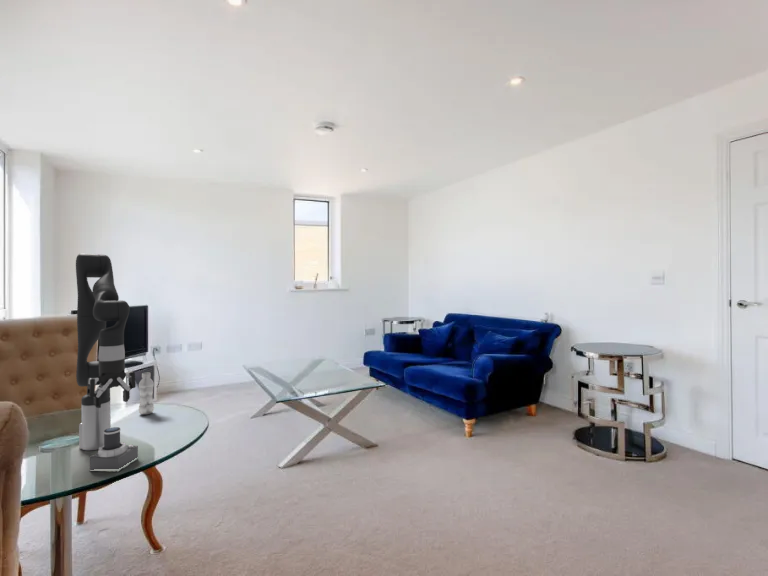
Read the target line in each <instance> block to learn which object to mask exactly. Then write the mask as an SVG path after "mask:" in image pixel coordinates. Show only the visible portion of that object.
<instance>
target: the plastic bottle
mask: <svg viewBox="0 0 768 576" xmlns="http://www.w3.org/2000/svg"><path fill="white" fill-rule="evenodd" d="M154 386H155V383H154V381H153V379H152V378H151V372H148V371H147V372H142V373H141V379H140V381H139V383H138V389H139V390H138V391H139V406H138V413H139V414H140V415H141V416H142V415H143V416H144V415H150V414H153V412H154V410H155V405H154V398H153V394H154V393H153V391H154Z"/></svg>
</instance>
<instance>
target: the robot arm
mask: <svg viewBox="0 0 768 576" xmlns="http://www.w3.org/2000/svg"><path fill="white" fill-rule="evenodd" d="M75 275H76V277H75V278H76V289H77V305H76V306H77V308H76V309H77V311H76V326H77V329H76V331H77V355H76V356H77V358H76V374H75V379H76V383H77V386H79V387H80V388H81V387H87V388H86V394H85V395H83V396H82V397H81V400H80V401H81V402H80V403H81V423H79V424H78V426H79V427H78V439H79V440H78V444H79V445H78V448H79V449H80V450H83V451H96V450H99V448H100V447H102V446H103V445H104V430H106V429H108V428H112V427H111V425H112V424H111V423H112V422H111V389H112V388H114V387H115V388H117V387H120V388H121V389H123V391H122V401H123V403H127V402H129V400H130V397H131V396H130V394H131V390H132V389H135V388H136V387H137V386H136V373H135V371H133V370H132V371H131V370H128V371H127V372H125V371H126V360H125V359H126V355H125V354H126V351H125V328H126V323H127V321H128V318H129V314H130V309H131V307H130V305H129V303H128V302H127V301H126V300H121V299H120V297H119V293H118V292H117V288H116V285H115V279H114V272H113V265H112V260H111V258H110V257H109V256H108V255H106V254H102V253H101V254H98V253H79V254H77V256H76V258H75ZM88 278H99V279H97V280H96V281H95V282H94V284H93V286H92V289H91V287H90V284H89V281H88ZM115 321H116V322H115ZM107 322H115V324H114V325H112V326H109V327H107ZM98 341H99V348H98V357H97V358H98V361H97V360H95V361H88V358H89V355H90V353H91V351H92V349H93V348H94V346H95V344H96V343H97V342H98ZM126 378H127V380H128V383H126V382H125V381H124V380H125V379H126ZM95 386H97V387H96V389H95Z"/></svg>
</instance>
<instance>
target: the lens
mask: <svg viewBox="0 0 768 576" xmlns="http://www.w3.org/2000/svg"><path fill="white" fill-rule="evenodd" d="M120 442H121V428H120V427H117V426H114V427H111V428H108V429H106V430H104V450H113V449H117V448H119V447H120Z"/></svg>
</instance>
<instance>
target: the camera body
mask: <svg viewBox="0 0 768 576" xmlns="http://www.w3.org/2000/svg"><path fill="white" fill-rule="evenodd" d="M138 446H139V445H133V444H128V445H127V443H126V442H122V441H120V447H119V448H117V449H113V450H104V445H103V446H102V447H100V448H99V449H97V450H98V451H97V452H96V453H94V454H93V455H91V456H89V471H90V470H94V469H119V468H121V467H123V466H124V465H126V464H127V463H129V462H131V461H132V460H134V459H135V458H137V457H138V458H139V447H138Z"/></svg>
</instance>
